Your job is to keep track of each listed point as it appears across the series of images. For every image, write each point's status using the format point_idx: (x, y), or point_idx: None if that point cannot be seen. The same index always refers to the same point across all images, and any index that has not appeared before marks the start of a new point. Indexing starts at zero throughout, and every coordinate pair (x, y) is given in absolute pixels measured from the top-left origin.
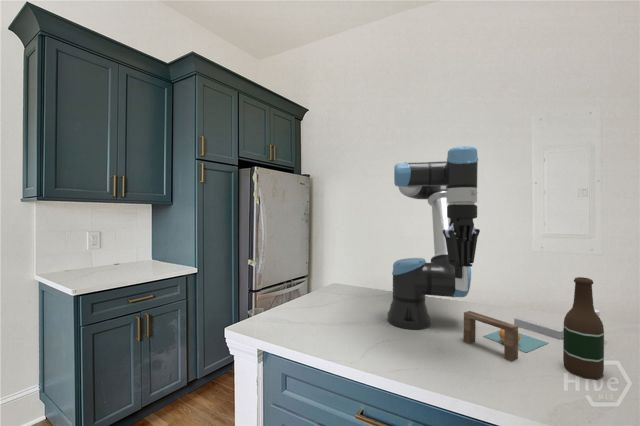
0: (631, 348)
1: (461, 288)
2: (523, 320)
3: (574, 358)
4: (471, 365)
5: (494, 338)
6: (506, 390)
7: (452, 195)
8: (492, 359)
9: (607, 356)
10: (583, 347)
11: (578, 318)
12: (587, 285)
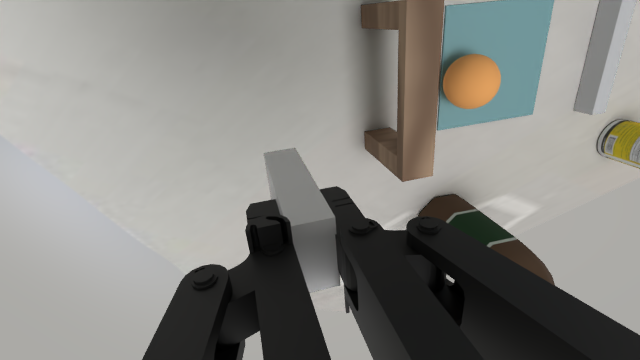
0: (615, 185)
1: (271, 195)
2: (623, 13)
3: None
4: (257, 128)
5: (455, 36)
6: (242, 225)
7: None
8: (334, 124)
9: (545, 193)
10: None
11: None
12: None
